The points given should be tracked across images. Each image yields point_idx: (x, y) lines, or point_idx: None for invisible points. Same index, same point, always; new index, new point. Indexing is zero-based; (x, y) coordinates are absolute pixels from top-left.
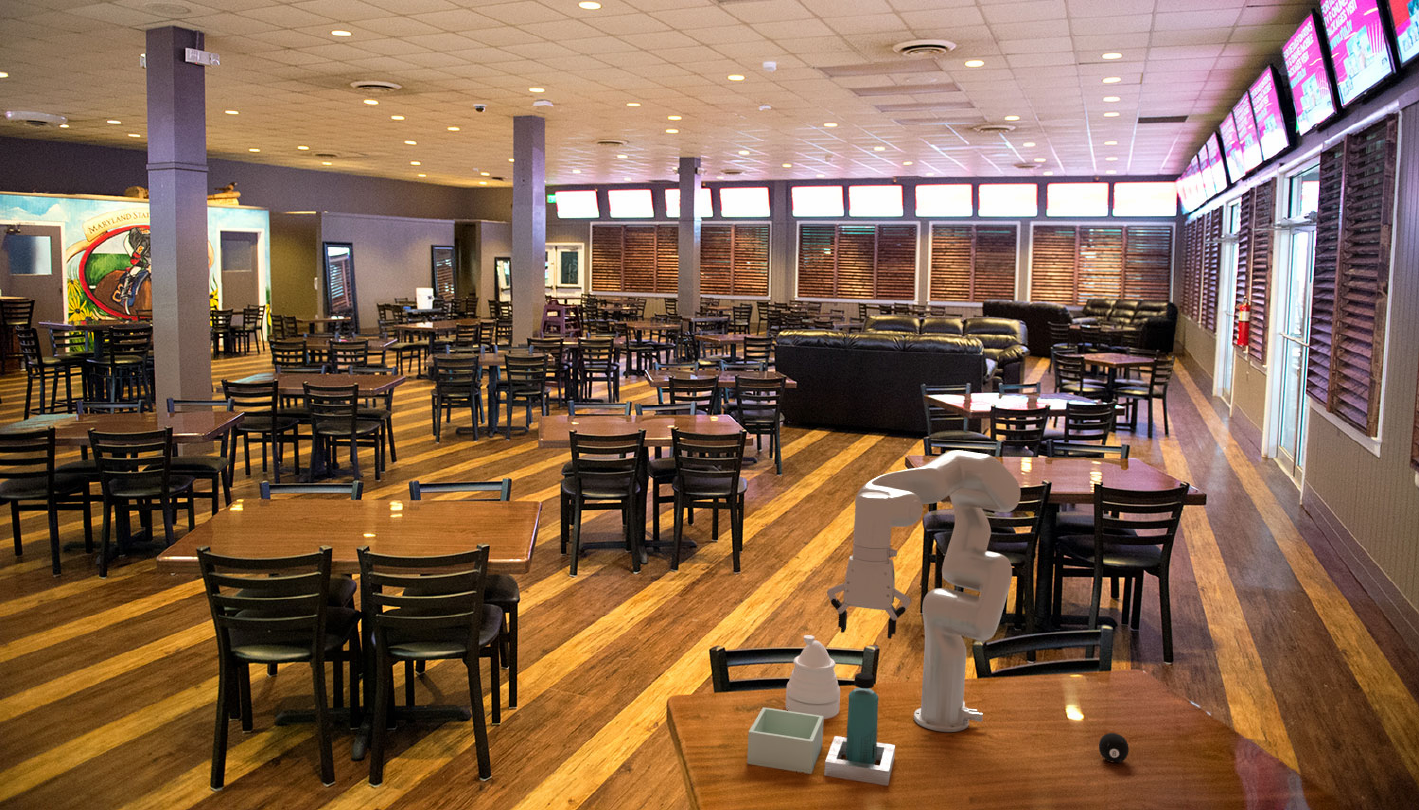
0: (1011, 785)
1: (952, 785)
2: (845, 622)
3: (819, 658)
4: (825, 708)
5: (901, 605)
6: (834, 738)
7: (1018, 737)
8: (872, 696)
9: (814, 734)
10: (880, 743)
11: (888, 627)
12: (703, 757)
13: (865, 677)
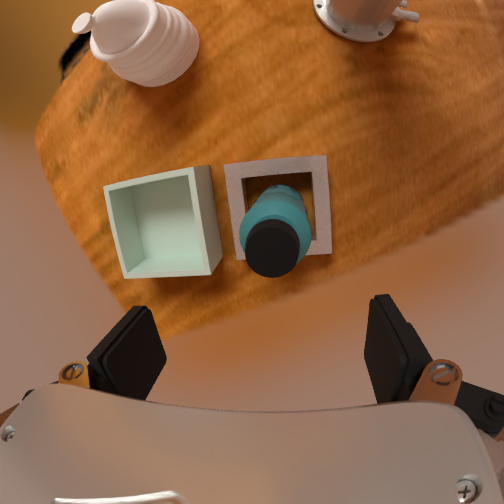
0: (465, 182)
1: (407, 209)
2: (143, 365)
3: (123, 31)
4: (179, 65)
5: (489, 442)
6: (225, 174)
7: (451, 40)
8: (299, 253)
9: (204, 248)
10: (301, 159)
11: (376, 393)
12: (104, 265)
13: (277, 266)
